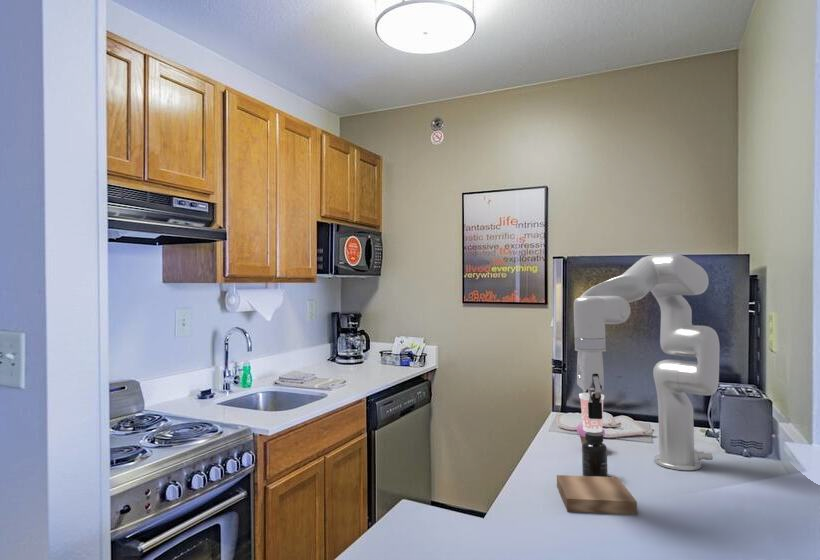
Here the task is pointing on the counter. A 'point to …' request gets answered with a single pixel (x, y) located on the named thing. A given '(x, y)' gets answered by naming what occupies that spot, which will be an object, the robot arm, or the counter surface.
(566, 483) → the walnut base
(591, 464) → the supplement bottle
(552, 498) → the counter surface
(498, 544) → the counter surface
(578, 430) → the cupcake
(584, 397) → the beverage cup
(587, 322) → the robot arm
